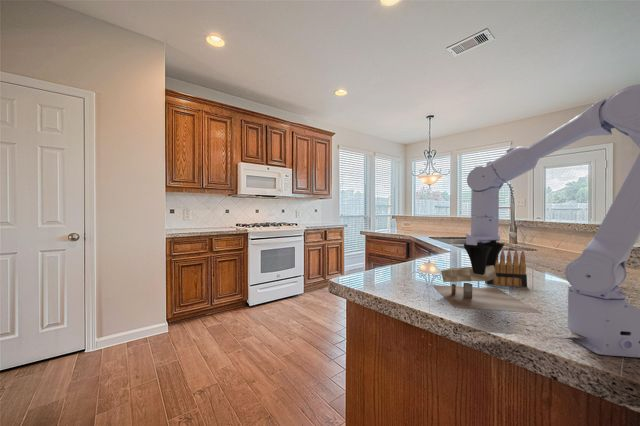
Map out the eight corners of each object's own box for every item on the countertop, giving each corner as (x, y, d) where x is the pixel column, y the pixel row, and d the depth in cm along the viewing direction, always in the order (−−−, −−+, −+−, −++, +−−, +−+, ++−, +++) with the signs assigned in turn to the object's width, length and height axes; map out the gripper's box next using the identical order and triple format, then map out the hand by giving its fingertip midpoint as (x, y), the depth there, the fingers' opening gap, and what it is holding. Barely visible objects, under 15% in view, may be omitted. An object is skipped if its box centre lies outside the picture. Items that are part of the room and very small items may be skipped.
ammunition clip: (486, 289, 79) (487, 249, 79) (484, 287, 81) (485, 249, 81) (527, 291, 76) (528, 251, 76) (524, 290, 78) (524, 250, 78)
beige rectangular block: (496, 277, 63) (493, 265, 64) (488, 280, 60) (485, 267, 61) (452, 279, 72) (450, 268, 72) (443, 282, 69) (441, 270, 69)
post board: (541, 319, 57) (542, 296, 57) (454, 314, 59) (454, 292, 59) (497, 293, 75) (497, 276, 75) (431, 290, 77) (432, 273, 77)
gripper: (479, 216, 71) (478, 265, 71) (453, 216, 62) (452, 273, 62) (509, 217, 65) (508, 270, 65) (486, 217, 56) (485, 279, 57)
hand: (483, 272), depth 63 cm, fingers closed on beige rectangular block, 5 cm apart
